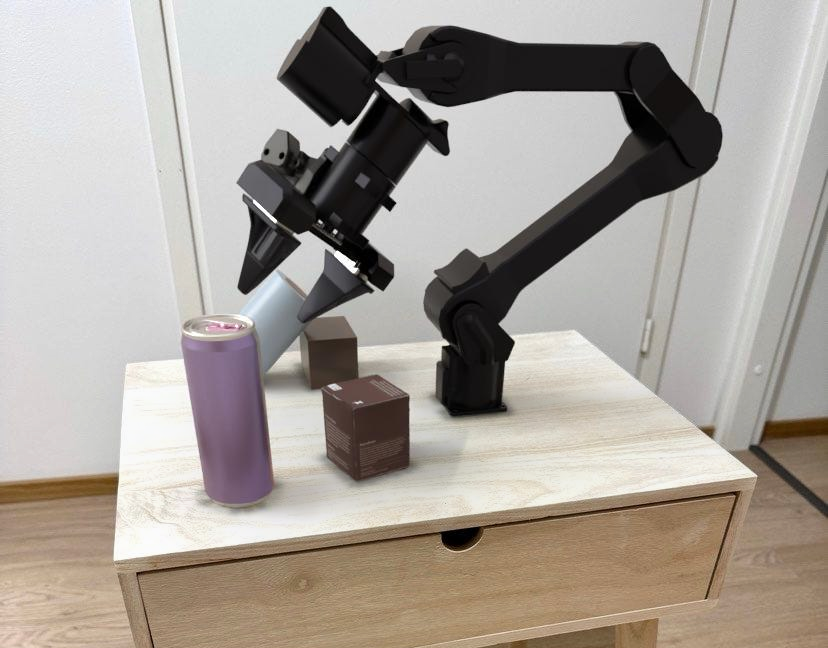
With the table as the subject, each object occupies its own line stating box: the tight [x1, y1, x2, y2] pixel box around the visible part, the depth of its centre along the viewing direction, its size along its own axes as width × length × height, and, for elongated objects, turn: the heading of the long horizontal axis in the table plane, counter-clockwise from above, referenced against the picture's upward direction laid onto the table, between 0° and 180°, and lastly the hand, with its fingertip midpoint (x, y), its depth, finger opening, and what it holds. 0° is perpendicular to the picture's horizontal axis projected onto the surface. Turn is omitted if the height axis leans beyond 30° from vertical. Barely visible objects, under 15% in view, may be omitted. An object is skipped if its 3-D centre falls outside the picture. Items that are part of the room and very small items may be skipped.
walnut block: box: [298, 315, 359, 390], centre depth 88 cm, size 6×8×6 cm
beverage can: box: [180, 313, 275, 509], centre depth 62 cm, size 6×6×15 cm
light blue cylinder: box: [237, 268, 312, 377], centre depth 85 cm, size 12×6×12 cm, turn 105°
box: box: [321, 373, 411, 482], centre depth 70 cm, size 6×6×7 cm
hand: (272, 307), depth 72 cm, fingers open, 9 cm apart
